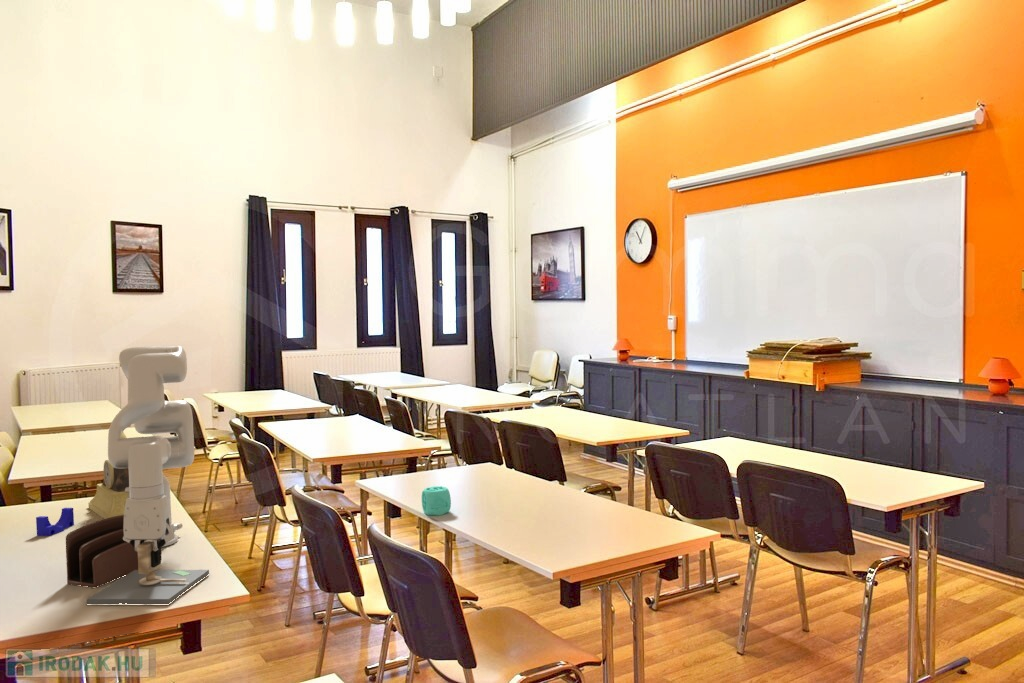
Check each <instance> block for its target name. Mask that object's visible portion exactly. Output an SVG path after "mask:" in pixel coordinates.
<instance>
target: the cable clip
mask: <svg viewBox="0 0 1024 683" xmlns="http://www.w3.org/2000/svg"><path fill="white" fill-rule="evenodd" d="M60 513H61V514H60V517H59V519H58V520H57V522H56V523H55V524H51V523H50V520H49V516H46V515H45V516H43V515H42V516H41V515H40V516H36V517H35V521H36V522H35V524H36V536H37V537H51V536H53V535H56V534H59V533H62V532H64V531H65V529H68V528H71V527H73V526H75V516H74V515H75V514H74V507H63V508H61V512H60Z"/></svg>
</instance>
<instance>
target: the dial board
mask: <svg viewBox="0 0 1024 683" xmlns="http://www.w3.org/2000/svg"><path fill="white" fill-rule="evenodd" d="M208 574H209V575H210V570H209V569H155V576H161V577H162V579H186V580H187V581H186V582H159V583H156V584H153V585H140V584H139V580H141V579H142V578H145V577H146V574H139V572H138V570H134V571H132V572H131V573H129V574H127V575H126V576H124V577H122V578H119V579H117V580H115V581H114V582H111V584H108V585H107V586H105V587H104V588H102V589H101V590H98V592H95V593H94V594H93V595H91V596H89V597H87V598H86V599H85V600H86V605H87V604H119V603H122V604H125V603H127V604H169V603H170V602H172V601H173V600H174V599H176V598H177V597H178V596H179V595H181V594H182V593H183V592H185V591H186V590H187V589H189V588H190V587H191V586H193V585H194V584H195V583H197V582H198V581H200V580H201V579H203V578H204V577H206V576H207V575H208ZM206 578H207V577H206Z"/></svg>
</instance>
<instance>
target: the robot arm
mask: <svg viewBox="0 0 1024 683" xmlns="http://www.w3.org/2000/svg"><path fill="white" fill-rule="evenodd" d="M118 360H119V365H120V368H121V370H122V372H123V373H124V374H123V375H124V376H125V378H126V379H127V404H126V405H125V406H123V407H122V409H120V410H119V411H118V413H117V414H116V415H115V417H114V418H113V420H112V421H111V423H110V425H109V428H108V436H107V440H108V441H107V457H108V459H107V460H109V462H110V464H111V466H113V467H114V468H119V469H121V468H129V487H126V488H125V492H126V493H129V496H130V498H128V499H127V500H126V504H125V510H124V525H123V532H124V536H123V540H124V541H126V542H128V543H130V544H131V545H132V546H133V547H134V548H135V551H137V554H138V549H137V545H139V544H141V543H143V542H145V541H146V540H152V547H153V551H152V552H151V567H156V566H158V565H159V564H160V563H161V564H162V548H164V547H168V546H171V545H173V544H175V543H177V542H178V539H179V537H178V536H179V535H177V534H175V532H176V531H178V530H181V529H182V528H183V523H182V522H178V523H177V522H176V523H172V505H171V502H172V501H171V498H172V497H171V484H170V481H169V479H168V478H167V476H165V474H163V473H164V472H163V471H164V470H166V469H167V470H168V469H177V468H186V467H189V466H191V465H192V464H193V462H194V461H195V436H194V418H193V410H192V407H191V405H190V403H189V402H188V401H186V400H179V399H178V400H166V399H165V387H164V384H174V383H181V382H183V381H185V380H186V377H187V371H188V361H187V360H188V357H187V354H186V351H185V349H184V348H183V347H182V346H181V345H160V346H158V345H157V346H153V345H152V346H151V345H150V346H148V345H147V346H135V347H133V346H132V347H129V348H125V349H122V350H121V352H120V353H119V354H118ZM131 425H134V429H135V431H136V432H137V433H138V434H142V435H151V436H136V437H126V438H123V439H120V437H121V434H122V432H123V433H124V430H126V429H127V428H128V427H130V426H131ZM169 433H171V434H172V433H175V434H176V435H174V436H173V435H171V436H163V435H162V436H161V435H157V434H169Z"/></svg>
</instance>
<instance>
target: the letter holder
mask: <svg viewBox="0 0 1024 683" xmlns="http://www.w3.org/2000/svg"><path fill="white" fill-rule="evenodd" d="M123 525H124V515H120V516H115V517H110V518H106V519H103V518H102V519H99V520H97V521H94V522H91V523H88V524H86V525H83V526H81V527H79V528H76V529H74V530H72V531H70V532H68V533H67V534H66V536H65V558H66V560H65V561H66V563H65V564H66V581H67V582H66V583H67V585H71V584H72V586H77V585H81V586H80V587H83V586H88V587H87V588H89V587H96V588H98V587H97V586H99V587H101V586H100V585H102V584H104V585H106V584H105V583H107V582H109V583H111V582H110V581H112V580H114V579H117V578H119V577H122V576H124V575H127V574H129V573H131V572H132V571H134V570H138V554H137V551H135V548H134V547H133V546H132V545H131V544H130V543H128V542H126V541H124V540H123V536H124V532H123ZM119 579H120V578H119ZM117 580H118V579H117ZM114 581H115V580H114ZM112 582H113V581H112ZM107 584H108V583H107ZM102 586H103V585H102Z"/></svg>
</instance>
